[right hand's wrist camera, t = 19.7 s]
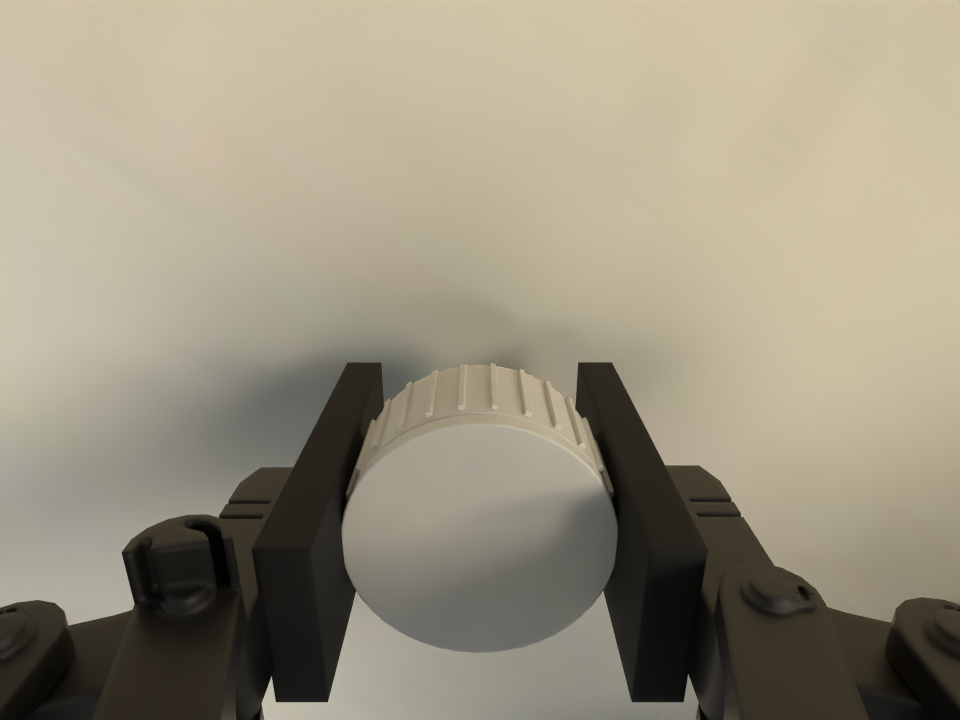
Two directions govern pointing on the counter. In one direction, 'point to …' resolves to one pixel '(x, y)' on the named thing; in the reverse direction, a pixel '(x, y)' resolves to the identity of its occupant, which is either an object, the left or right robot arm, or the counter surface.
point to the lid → (479, 511)
